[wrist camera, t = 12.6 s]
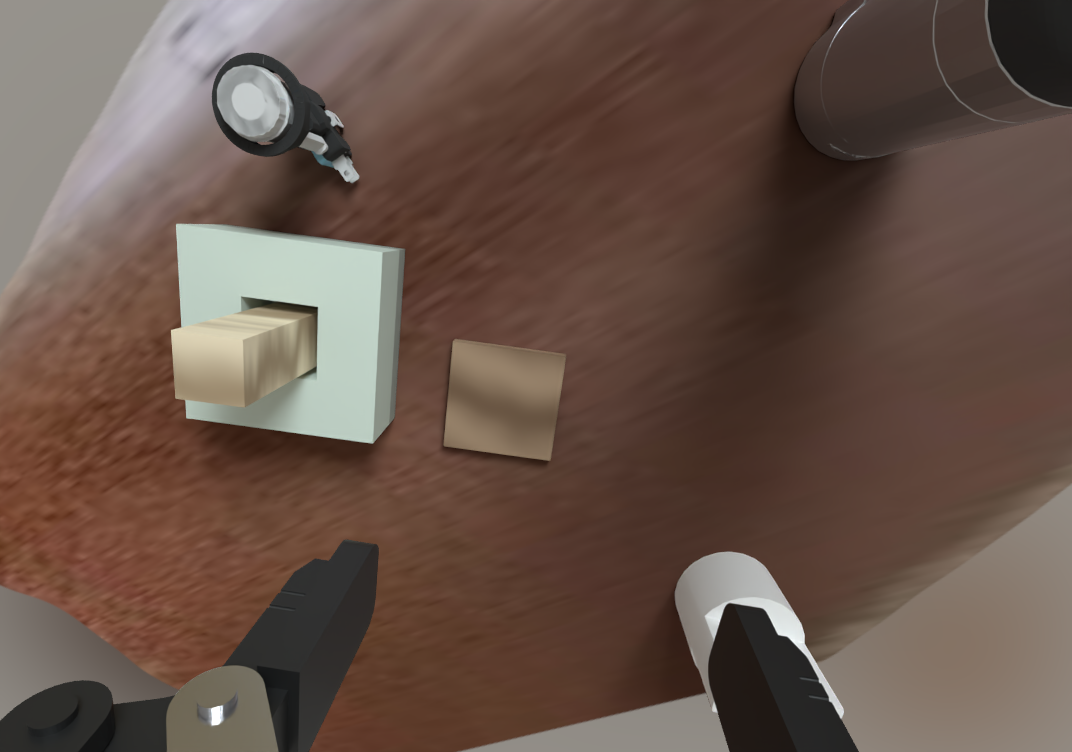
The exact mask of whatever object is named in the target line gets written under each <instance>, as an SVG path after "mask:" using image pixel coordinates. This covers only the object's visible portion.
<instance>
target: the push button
mask: <svg viewBox="0 0 1072 752" xmlns="http://www.w3.org/2000/svg"><path fill="white" fill-rule="evenodd" d="M271 72H272V73H276V74H278V75H279V76H280V77H281V78H282V79H283V80H284V81H285V83H284V82H282V81H280V80H279V79H278V78H277V77H276V76H275V75H274V74H272V73H271ZM212 105H213V110H214V114H215V117H216V120H217V122H218V124H219V126H220V128H221V130H222V131H223V133H224V134H225V135H226V137H227V138H228V139H229V140H230V141H231V142H232V143H233V144H235V145H236V146H237V147H239V148H240V149H242V150H244V151H246V152H248V153H251V154H254V155H258V156H265V157H270V156H277V155H280V154H283V153H285V152H287V151H289V150H291V149H293V148H296V147H298V148H301V149H303V150H304V149H307V150H310V151H312V153H313V154H314V157H315V158H316V160H317V161H318V162H319V163H320V164H321V165H326V166H329V167H333V168H335V170H337V169H338V170H339V172H340V173H341V175H342V176H343V178H344V179H345V181H346V182H349V181H350V182H351V183H353V182H355V181H356V180H358V179H359V175H358V174H357V172H356V171H355V169H354V168H353V166H352V165H351V164H353V163H352V161H351V160H350V158H349V156H351V155H352V153H351V152H350V150H351V149H350V147H349V145H348V144H347V142H346V141H345V140H344V139H343V138H342V137H341V136H340V135H339V133H338V132H337V130H336V129H335V127H334V126H335V125H338V126H340V127H342V128H344V126H343V124H342V123H341V121H340V120H339V118H338V117H337V116H336V114H334V113H332V112H331V111H328V110H326V111H324V110H323V109H322V108H323V107H324V106H325V103H324V102H323V100H322V98H321V97H320V96H319V94H318V93H316V92H315V91H313V90H311V89H309V88H308V87H306V86H304V85H301V84H300V83H299V81H298V80H297V78H296V77H295V76H294V74H293V73H292V72H291V71H290V70H289V69H288V68H287V67H286V66H285V65H283V64H282V63H280V62H279V61H277V60H275V59H274V58H272V57H269V56H267V55H264V54H259V53H245V54H241V55H238V56H236V57H234V58H232V59H230V60H229V61H228V62H226V63H225V64H224V65H223V67H222V68H221V69H220V71H219V72H218V74H217V76H216V78H215V81H214V85H213V90H212ZM336 119H337V120H338V121H337V120H336ZM266 141H267V142H272V143H273V144H269V145H260V144H259V143H257V142H266ZM344 173H345V174H344ZM349 173H350V174H349ZM345 175H346V176H345Z"/></svg>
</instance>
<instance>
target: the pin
mask: <svg viewBox="0 0 1072 752" xmlns="http://www.w3.org/2000/svg"><path fill="white" fill-rule="evenodd" d="M317 334H318V307H315V306H308V305H301V304H293V303H286V302H276V303H272V304H268V305H264V306H261V307H257V308H253V309H249V310H246V311H242V312H238V313H234V314H231V315H227V316H223V317H219V318H215V319H212V320H208V321H204V322H200V323H197V324H193V325H189V326H185V327H182V328H178V329H174V330H171V336H172V352H173V367H174V383H175V398H176V399H183V400H190V401H198V402H206V403H213V404H221V405H228V406H236V407H244V408H245V407H247V406H248V405H250V404H252V403H254V402H255V401H257V400H259V399H261V398H262V397H264V396H266V395H268V394H269V393H271V392H273V391H274V390H276V389H278V388H280V387H281V386H283V385H285V384H287V383H288V382H290V381H292V380H294V379H295V378H297V377H299V376H300V375H302V374H304V373H306V372H307V371H309V370H311V369H313V368H314V367H316V366H317Z"/></svg>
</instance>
